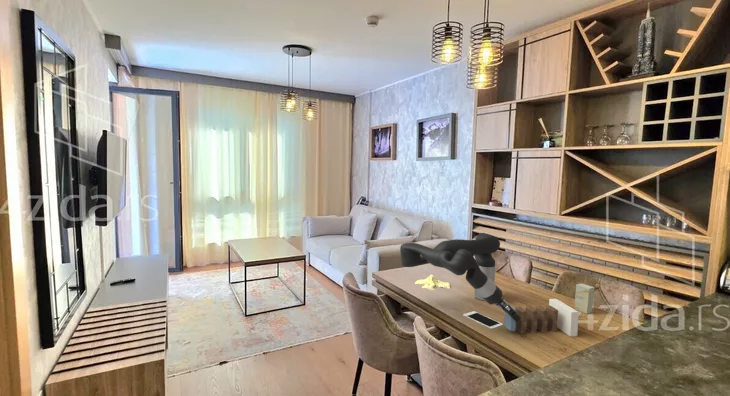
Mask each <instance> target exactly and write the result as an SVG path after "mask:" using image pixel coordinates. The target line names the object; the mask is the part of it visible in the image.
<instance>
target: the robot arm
mask: <svg viewBox="0 0 730 396" xmlns="http://www.w3.org/2000/svg"><path fill="white" fill-rule="evenodd" d="M500 246H501V241H500V240H499V238H498V237H497V236H495V235H492V234H491V233H490V234H489V233H485V232H480V233H479V234H477V236H476V237H475V239H450V240H449V239H447V240H443V241H440V242H439V243H438V244H437V245H436V246H435V247H433V248H431V247H428V246H426V245H423V244H420V243H416V242H405V243H403V244H401V245H400V249H399V251H400V259H401V265H402V266H403V267H404V268H413V267H418V266H422V265H426V264H430V265H432V266H433V267H438V268H443V269H445V270H448V271H449V272H451V273H452V274H454V275H455V276H463V275H465V279H466V281H467V282H468V284H469V285H470V286H471V287H473V289H474V299H478V300H480V301H485V302H486V303H488V304H489V305H494V306H497V308H499V309H500V310H501V311H502V312H503V313H504V314H505V313H507V314H509V316H511V317H512V318H513V319H514V320H515V321H516V322H518V321H519V320H520V317H519V316H518V315H517V313H516V312H515V311H514V310H513V309H512V308H511V306H512V305H511V304H509V303H508V302H507V300H506V299H505V298H504V297H503V294H504V293H503V291H502V289H501V288H500V287H499V286H498V285H497V284H496V283H495V281H496V260H495V259H494V257H493V256H492V254H495V253H496V252H497V251H498V250H499V249H500V248H501V247H500ZM510 305H511V306H510Z"/></svg>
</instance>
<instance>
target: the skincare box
mask: <svg viewBox="0 0 730 396" xmlns="http://www.w3.org/2000/svg"><path fill="white" fill-rule="evenodd" d="M594 294H595V287H594V286H591V285H588V284H585V283H577V284H576V285H575V294H574V306H573V309H575V310H576V311H578V312H580V313H583V314H586V315H587V314H591V313H593V307H594V306H593V305H594Z"/></svg>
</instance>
